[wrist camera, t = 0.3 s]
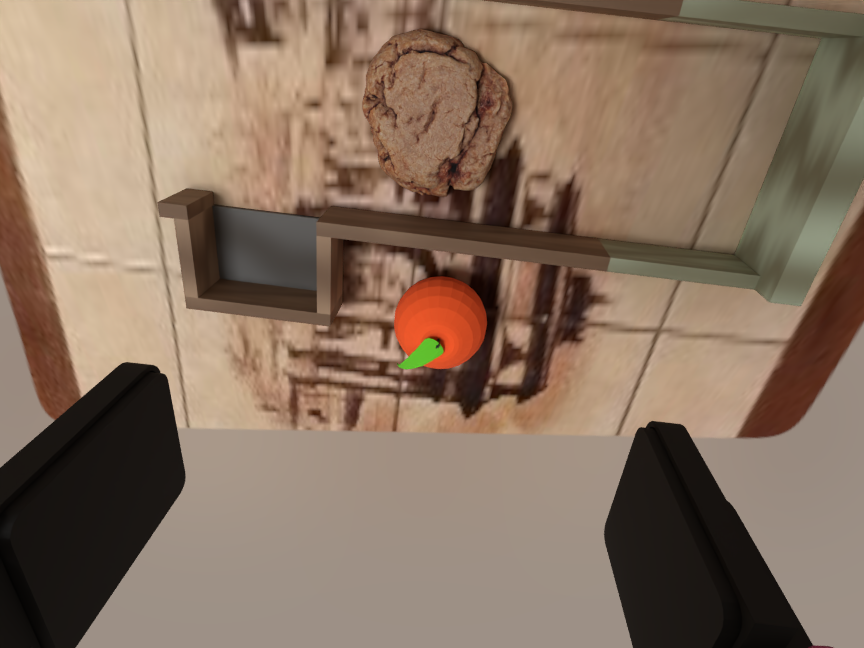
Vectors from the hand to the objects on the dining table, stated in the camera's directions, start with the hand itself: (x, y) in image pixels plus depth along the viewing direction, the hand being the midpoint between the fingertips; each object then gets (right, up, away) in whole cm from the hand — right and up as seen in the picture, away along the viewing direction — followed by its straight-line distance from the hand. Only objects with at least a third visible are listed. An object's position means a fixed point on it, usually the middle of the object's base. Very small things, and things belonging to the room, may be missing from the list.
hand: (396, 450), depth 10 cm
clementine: (+1, +4, +32) cm, 32 cm away
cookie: (+1, +17, +25) cm, 30 cm away
